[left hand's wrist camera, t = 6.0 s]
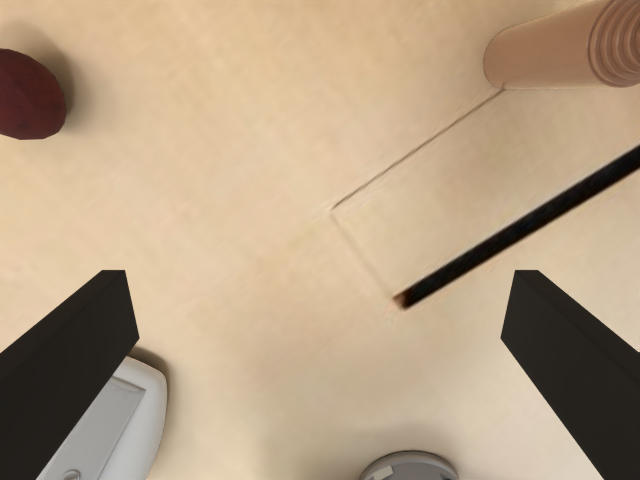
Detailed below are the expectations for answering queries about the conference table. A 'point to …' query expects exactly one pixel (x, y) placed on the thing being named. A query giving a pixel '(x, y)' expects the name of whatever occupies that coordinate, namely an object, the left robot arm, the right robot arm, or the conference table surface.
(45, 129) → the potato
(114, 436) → the projector
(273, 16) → the conference table surface
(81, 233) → the conference table surface
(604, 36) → the bottle
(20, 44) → the conference table surface
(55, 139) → the conference table surface
